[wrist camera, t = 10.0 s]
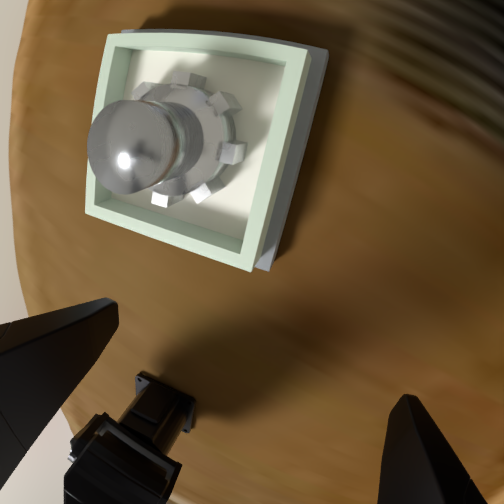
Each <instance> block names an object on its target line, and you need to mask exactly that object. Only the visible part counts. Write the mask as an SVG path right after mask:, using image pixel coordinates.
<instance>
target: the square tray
mask: <svg viewBox="0 0 504 504" xmlns="http://www.w3.org/2000/svg"><path fill="white" fill-rule="evenodd" d="M328 59H329V53H328V50H326V49H322V48H318V47H313V46H309V45H304V44H300V43H295V42H289V41H284V40H279V39H273V38H267V37H260V36H253V35H246V34H237V33H228V32H217V31H204V30H185V29H133V30H122V32H121V34H108V37H107V41H106V46H105V50H104V55H103V59H102V64H101V69H100V74H99V79H98V85H97V91H96V97H95V103H94V110H93V117H92V123H93V121H94V119H95V118H96V116H97V115H98V113H99V112H100V111H101V110H102V109H103V108H104V107H106V106H107V105H109V104H111V103H113V102H116V101H120V100H135V99H134V97H133V96H132V94H131V92H132V91H133V90H134V89H136V88H137V87H138V86H139V85H140V84H141V83H142V82H143V81H145V82H152V83H160V84H163V85H165V84H171V80H172V75H173V71H180V72H189V73H194V74H197V75H201V76H204V77H207V78H206V83H205V87H204V89H205V90H208V91H210V92H212V93H214V94H216V93H217V92H219V91H222V92H226V93H230V94H233V95H234V96H235V98H236V99H237V101H238V103H239V104H240V106H241V107H242V110H240V111H239V112H237V113H236V114H234V115H233V116H232V117H233V120H234V124H235V128H236V140H239V141H243V142H247V143H248V146H247V150H246V155H245V159H244V161H241V162H239V163H236V164H233V165H230V164H229V165H228V167H227V168H226V169H225V171H224V172H223V173H222V174H221V175H220V176H219V177H220V179H221V180H222V182H223V184H224V185H225V188H223V189H222V190H220V191H218V192H217V193H215V194H213V195H212V196H210V197H208V198H207V199H205V200H203V201H201V202H199V203H198V204H197V203H196V201H195V200H194V198H193V197H192V195H191V193H187V194H184V199H183V200H181V201H179V202H177V203H175V204H173V205H171V206H169V207H167V208H165V207H162V206H159V205H156V204H152V194H153V191H151V190H150V189H148V188H146V189H143V190H141V191H138V192H136V193H132V194H127V195H123V194H117V193H114V192H111V191H110V190H108V189H107V188H105V187H104V186H103V185H102V184H101V183H100V182H99V181H98V180H97V178H96V177H95V175H94V173H93V171H92V169H91V166H90V163H89V159H88V166H87V181H86V205H85V213H86V214H88V215H91V216H94V217H97V218H99V219H102V220H105V221H108V222H110V223H113V224H116V225H118V226H121V227H124V228H127V229H130V230H132V231H135V232H138V233H141V234H143V235H146V236H149V237H152V238H155V239H157V240H160V241H163V242H166V243H169V244H171V245H174V246H177V247H180V248H183V249H186V250H188V251H191V252H194V253H197V254H200V255H203V256H206V257H208V258H211V259H214V260H217V261H220V262H223V263H226V264H229V265H232V266H234V267H237V268H240V269H243V270H246V271H249V272H252V270H253V268H254V267H257V268H260V269H262V270H265V271H268V272H269V270H270V268H271V267H272V265H273V263H274V260H275V257H276V253H277V250H278V246H279V243H280V239H281V236H282V232H283V229H284V225H285V222H286V218H287V214H288V211H289V207H290V204H291V200H292V196H293V193H294V189H295V185H296V182H297V178H298V174H299V171H300V167H301V163H302V160H303V156H304V152H305V148H306V145H307V141H308V137H309V133H310V130H311V126H312V122H313V118H314V114H315V110H316V106H317V103H318V99H319V95H320V91H321V87H322V83H323V79H324V75H325V71H326V67H327V63H328Z"/></svg>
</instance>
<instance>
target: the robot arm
mask: <svg viewBox="0 0 504 504" xmlns="http://www.w3.org/2000/svg"><path fill="white" fill-rule="evenodd" d="M118 325H119V314H118V304H117V302H116V301H114V300H111V299H109V298H102V299H98V300H94V301H90V302H86V303H82V304H79V305H75V306H71V307H67V308H63V309H59V310H55V311H52V312H48V313H44V314H40V315H36V316H32V317H28V318H24V319H20V320H17V321H13V322H11V323H10V322H9V323H5V324H1V325H0V490H1V489H2V487H3V486H4V484H5V483H6V481H7V480H8V478H9V477H10V476H11V474H12V473H13V471H14V470H15V468H16V467H17V466H18V464H19V463H20V461H21V460H22V458H23V457H24V456H25V454H26V453H27V451H28V450H29V449H30V447H31V446H32V444H33V443H34V441H35V440H36V439H37V438H38V436H39V435H40V434H41V432H42V431H43V429H44V428H45V427H46V426H47V424H48V423H49V422H50V420H51V419H52V418H53V416H54V415H55V414H56V412H57V411H58V410H59V408H60V407H61V406H62V405H63V403H64V402H65V401H66V399H67V398H68V397H69V396H70V394H71V393H72V392H73V390H74V389H75V388H76V387H77V385H78V384H79V383H80V382H81V380H82V379H83V378H84V376H85V375H86V374H87V373H88V371H89V370H90V369H91V368H92V366H93V365H94V364H95V362H96V361H97V359H98V358H99V356H100V355H101V353H102V352H103V350H104V349H105V347H106V345H107V344H108V342H109V341H110V339H111V338H112V336H113V335H114V333H115V332H116V330H117V328H118ZM135 383H136V397H135V398H134V400H133V401H132V402H131V404H130V405H129V406H128V408H127V409H126V410H125V412H124V413H123V414H122V415H121V417H120V418H119V419H118V421H117V422H116V421H115V420H113V419H112V418H111V417H109V415H108V414H107V413H106V412H104V413H103V414H102V415H98V414H95V415H94V416H93V418H92V419H91V420H90V421H89V422H88V424H87V425H86V426H85V427H84V428H83V429H82V430H81V431H79V432H78V433H77V434H76V435H75V436H74V437H73V438H72V439H71V441H70V444H71V450H70V455H69V457H68V460H70V461H71V462H72V463H73V464H72V465H71V467H70V468H69V469H68V471H67V472H66V473H65V475H64V504H166V502H167V501H168V499H169V497H170V495H171V493H172V490H173V488H174V485H175V482H176V480H177V477H178V475H179V472H180V470H181V467H182V464H181V463H179V462H176V461H174V460H172V459H171V458H169V457H167V455H168V453H169V451H170V450H171V448H172V446H173V444H174V443H175V441H176V439H177V437H178V436H179V434H180V432H181V431H183V432H185V433H189V432H190V431H191V427H192V421H193V415H194V409H195V403H196V401H195V400H194V399H193V398H192V397H189V396H187V395H185V394H183V393H180V392H178V391H176V390H174V389H171V388H169V387H167V386H165V385H163V384H160V383H158V382H156V381H154V380H152V379H150V378H148V377H146V376H144V375H142V374H137V375H136V377H135ZM377 504H488V503H487V502H486V501H485V499H484V498H483V496H482V495H481V493H480V491H479V490H478V488H477V487H476V485H475V484H474V482H473V480H472V479H470V476H469V474H468V473H467V471H466V469H465V468H464V466H463V465H462V463H461V461H460V460H459V458H458V457H457V455H456V454H455V452H454V451H453V449H452V448H451V446H450V444H449V443H448V441H447V440H446V438H445V437H444V435H443V434H442V432H441V431H440V429H439V428H438V426H437V425H436V423H435V422H434V420H433V419H432V417H431V416H430V415H429V413H428V412H427V410H426V409H425V407H424V406H423V404H422V403H421V401H420V400H419V399H418V397H417V396H415V395H410V394H404V395H402V397H401V398H400V399H399V401H398V402H397V404H396V405H395V406H394V408H393V409H392V410H391V412H390V415H389V419H388V425H387V432H386V438H385V444H384V449H383V455H382V462H381V473H380V484H379V493H378V502H377Z"/></svg>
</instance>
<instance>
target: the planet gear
mask: <svg viewBox="0 0 504 504" xmlns="http://www.w3.org/2000/svg"><path fill="white" fill-rule="evenodd" d="M206 78H207V77H204V76H201V75H197V74H194V73H189V72H180V71H173V75H172V80H171V84H165V85H163V84H160V83H152V82H145V81H143V82H142V83H141V84H140V85H139V86H138V87H137V88H136V89H134V90H133V91H132V92H131V94H132V96H133V97H134V99H135V100H120V101H116V102H113V103H111V104H109V105H107V106H106V107H104V108H103V109H102V110H101V111H100V112H99V113H98V115H97V116H96V118H95V119H94V121H93V123H92V125H91V128H90V131H89V135H88V141H87V153H88V159H89V163H90V166H91V169H92V171H93V173H94V175H95V177H96V178H97V180H98V181H99V182H100V183H101V184H102V185H103V186H104V187H105V188H107V189H108V190H110V191H111V192H114V193H117V194H123V195H127V194H132V193H136V192H138V191H141V190H143V189H146V188H148V189H150V190H151V191H153V194H152V204H156V205H159V206H162V207H165V208H167V207H169V206H171V205H173V204H175V203H177V202H179V201H181V200H183V199H184V194H187V193H191V195H192V197H193V198H194V200H195V201H196V203H197V204H198V203H199V202H201V201H203V200H205V199H207V198H208V197H210V196H212V195H213V194H215V193H217V192H218V191H220V190H222V189H223V188H225V185H224V184H223V182H222V180H221V179H220V177H219V176H220V175H221V174H222V173H223V172H224V171H225V169H226V168H227V167H228V165H229V164H230V165H233V164H236V163H239V162H241V161H244V159H245V155H246V150H247V146H248V143H247V142H243V141H239V140H236V128H235V124H234V120H233V117H232V116H233V115H234V114H236V113H237V112H239V111H240V110H242V107H241V106H240V104H239V103H238V101H237V99H236V98H235V96H234V95H233V94H230V93H226V92H222V91H219V92H217V93H216V94H214V93H212V92H210V91H208V90H205V89H204V87H205V83H206Z"/></svg>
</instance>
